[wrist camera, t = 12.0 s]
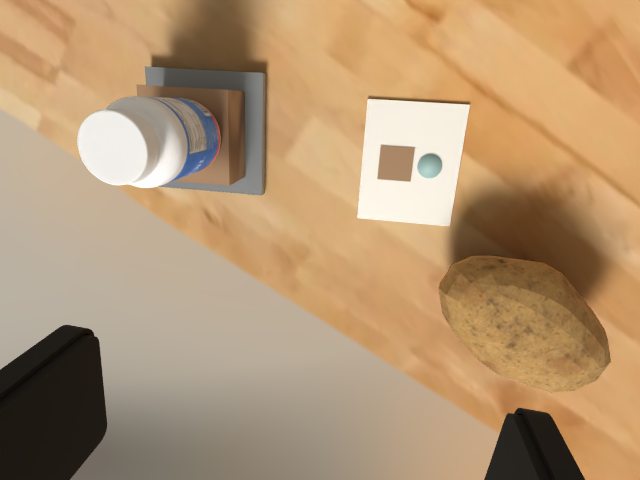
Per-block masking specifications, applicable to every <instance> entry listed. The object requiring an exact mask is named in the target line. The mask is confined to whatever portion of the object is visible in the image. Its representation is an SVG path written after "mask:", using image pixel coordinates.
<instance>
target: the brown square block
mask: <svg viewBox="0 0 640 480" xmlns="http://www.w3.org/2000/svg"><path fill="white" fill-rule="evenodd" d="M137 95H138V96H142V97H163V98H184V99H190V100H193V101H196V102H198V103H200V104H202V105H203V106H204V107H206V108H207V109H208V110H209V111H210V112H211V113H212V115H213V116H214V118H215V119H216V121H217V123H218V126H219V130H220V136H221V143H220V149H219V152H218V154H217V156H216V158H215V160H214V161H213V162H212V163H211V164H210V165H209V166H207V167H206V168H205V169H203V170H200V171H198V172H195V173H193V174H190V175H187V176H185V177H182V178H180V179H177V180H174V181H180V182H192V183H204V184H216V185H228V186H230V185H231V184H233V183H235V182H237V181H239V180H241V179H242V178H244V177H245V92H244V91H234V90H220V89H203V88H186V87H168V86H151V85H137Z"/></svg>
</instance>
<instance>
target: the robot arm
mask: <svg viewBox="0 0 640 480" xmlns="http://www.w3.org/2000/svg"><path fill="white" fill-rule="evenodd" d="M105 409H106V408H105V398H104V387H103V377H102V367H101V357H100V346H99V340H98V338H97V337H95V336H94V333H93V332H92V330H90V329H87V328H82V327H76V326H71V325H63V326H61V327H59V328H58V329H57V330H55V331H54V332H52V333H51V334H50V335H48V336H47V337H46V338H44V339H43V340H41V341H40V342H38V343H37V344H36V345H34V346H33V347H31V348H30V349H29V350H27V351H26V352H25V353H23V354H22V355H20V356H19V357H17V358H16V359H15V360H13V361H12V362H11V363H9V364H8V365H6V366H5V367H3V368H2V369H1V370H0V480H70V479H71V477H72V476H73V475H74V474H75V473H76V471H77V470H78V469H79V468H80V466H81V465H82V464H83V463H84V461H85V460H86V459H87V458H88V457H89V455H90V454H91V453H92V452H93V451H94V449H95V448H96V447H97V446H98V444H99V443H100V442H101V440H102V439H103V437H104V435H105V432H106V429H107V418H106V410H105ZM484 480H585V479H584V477H583V475H582V473H581V471H580V469H579V467H578V465H577V464H576V462H575V460H574V458H573V456H572V454H571V452H570V450H569V449H568V447H567V445H566V443H565V441H564V439H563V437H562V435H561V433H560V432H559V430H558V428H557V426H556V424H555V422H554V420H553V418H552V417H551V416H550V414H548V413H545V412H540V411H534V410H529V409H523V408H518V409H517V410H516V411H515V413H514V414H511V413H509V414H507V415H506V418H505V420H504V423H503V426H502V429H501V432H500V435H499V438H498V441H497V444H496V447H495V450H494V453H493V456H492V459H491V462H490V465H489V468H488V471H487V474H486V477H485V479H484Z"/></svg>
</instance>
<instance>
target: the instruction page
mask: <svg viewBox="0 0 640 480" xmlns="http://www.w3.org/2000/svg"><path fill="white" fill-rule="evenodd" d="M469 107H470V105H465V104H448V103H431V102H414V101H396V100H379V99H368V103H367V115H366V126H365V137H364V148H363V159H362V171H361V182H360V193H359V204H358V216H357V218H363V219H374V220H385V221H396V222H407V223H418V224H430V225H441V226H450V221H451V215H452V209H453V203H454V197H455V191H456V185H457V179H458V173H459V167H460V161H461V155H462V149H463V143H464V137H465V131H466V125H467V119H468V113H469Z"/></svg>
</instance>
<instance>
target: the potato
mask: <svg viewBox="0 0 640 480" xmlns="http://www.w3.org/2000/svg"><path fill="white" fill-rule="evenodd" d="M439 294H440V300H441V307H442V313H443V315H444V317H445V318H446V320H447V322H448V324H449V325H450V327H451V329H452V331H453V332H454V333H455V334H456V335H457V337H458V338H459V339H460V340H461V341H462V342H463V344H464V345H465V346H466V347H467V348H468V349H469V350H470V352H471V353H472V354H473V355H474V356H475V357H476V358H477V359H478V360H479V361H480V362H482V363H483V364H484V365H486V366H487V367H488V368H489V369H491V370H492V371H493V372H495V373H497V374H498V375H500V376H502V377H505V378H507V379H510V380H513V381H516V382H518V383H521V384H524V385H527V386H531V387H534V388H537V389H541V390H544V391H547V392H551V393H553V392H564V391H574V390H576V389H578V388H580V387H583V386H585V385H587V384H589V383H591V382H594V381H596V380H597V379H598V378H599V376H600V375H601V374H602V372H603V371H604V370H605V368H606V367H607V366H608V365H609V363H610V362H611V359H610V352H609V345H608V339H607V336H606V332H605V329H604V328H603V326H602V325H601V323H600V322H599V320H598V318H597V317H596V315H595V314H594V312H593V311H592V309H591V308H590V307H589V306H588V305H587V303H586V302H585V301H584V300H583V298H582V297H581V296H580V295H579V293H578V292H577V291H576V290H575V289H574V287H573V286H572V285H571V284H570V282H569V281H568V280H567V279H566V277H565V276H564V275H563V274H562V273H561V272H559V271H557V270H556V269H554V268H552V267H551V266H549V265H547V264H545V263H543V262H535V261H528V260H521V259H514V258H506V257H499V256H492V255H485V256H470V257H468V258H466V259H463V260H461V261H459V262H457V263H454V264H452V265H451V267H450V269H449V270H448V272H447V273H446V275H445V276H444V278H443V279H442V281H441V282H440V285H439Z"/></svg>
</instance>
